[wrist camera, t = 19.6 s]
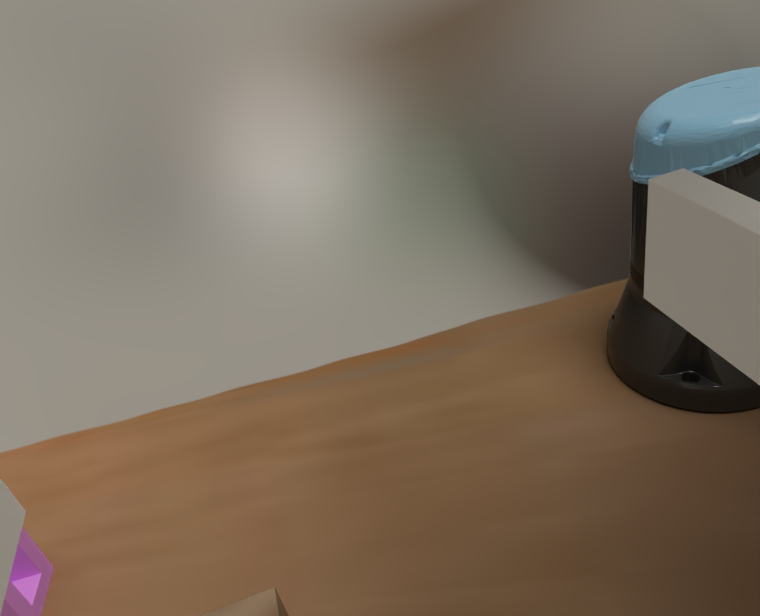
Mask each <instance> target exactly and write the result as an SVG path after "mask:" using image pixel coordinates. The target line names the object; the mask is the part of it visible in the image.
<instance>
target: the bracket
mask: <svg viewBox="0 0 760 616" xmlns="http://www.w3.org/2000/svg"><path fill="white" fill-rule="evenodd" d="M53 568H54V567H53V565H52V564H51V563H50V562H49V560H48V559H47V558H46V557H45V555H44V554H43V553H42V551H41V550H40V549H39V548H38V546H37V545H36V544H35V543H34V541H33V540H32V539H31V537H30V536H29V535H28V534H27V532H26V531H25V530H24V529H23V527H22V530H21V534H20V538H19V542H18V546H17V550H16V554H15V558H14V562H13V566H12V570H11V574H10V578H9V582H8V586H7V590H6V594H5V598H4V603H3V607H2V611H1V615H0V616H41V612H42V609H43V605H44V601H45V598H46V594H47V590H48V587H49V583H50V579H51V576H52V572H53Z"/></svg>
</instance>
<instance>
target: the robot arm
mask: <svg viewBox="0 0 760 616" xmlns="http://www.w3.org/2000/svg"><path fill="white" fill-rule="evenodd" d="M630 176H631V177H632V179H633V195H632V196H633V197H632V224H631V225H632V226H631V248H630V275H629V278H628V281H627V283H626V286H625V289H624V291H623V294H622V297H621V299H620V302H619V305H618V307H617V308H616V310H615V311H614V313H613V315H612V317H611V319H610V322H609V325H608V331H607V354H608V358H609V361H610V364H611V366H612V368H613V369H614V371H615V372H616V373H617V375H618V376H619V377H620V378H621V379H622V380H623V381H624V382H625V383H627V384H628V385H629V386H630V387H632V388H633V389H635V390H636V391H638V392H640V393H641V394H643V395H645V396H647V397H649V398H652V399H654V400H656V401H659V402H662V403H665V404H668V405H671V406H675V407H679V408H683V409H689V410H695V411H705V412H731V411H740V410H746V409H751V408H755V407H758V406H760V67H753V68H746V69H739V70H734V71H729V72H725V73H720V74H716V75H712V76H708V77H705V78H702V79H698V80H696V81H693V82H690V83H687V84H685V85H682V86H680V87H678V88H676V89H673V90H671V91H669V92H668V93H666V94H664V95H662V96H661V97H659V98H658V99H657V100H655V101H654V102H653V103H651V104H650V105H649V106H648V107H647V109H646V110H645V111H644V112H643V114H642V115H641V117H640V118H639V121H638V123H637V127H636V133H635V144H634V155H633V160H632V163H631V165H630ZM25 514H26V511H25V510H24V508H23V507H22V506H21V505H20V503H19V502H18V501H17V499H16V498H15V497H14V495H13V494H12V493H11V492H10V490H9V489H8V488H7V486H6V485H5V484H4V482H3V481H2V480H1V479H0V615H1V611H2V607H3V603H4V598H5V594H6V590H7V586H8V582H9V578H10V574H11V570H12V566H13V562H14V558H15V554H16V550H17V546H18V542H19V538H20V534H21V530H22V526H23V522H24V518H25Z"/></svg>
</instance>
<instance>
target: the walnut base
mask: <svg viewBox="0 0 760 616" xmlns="http://www.w3.org/2000/svg"><path fill="white" fill-rule="evenodd" d="M200 616H288V614H287V612H286V609H285V607H284V605H283V603H282V601H281V599H280V597H279V595H278V593H277V591H276V589H275V587H273V588H270V589H268V590H265V591H263V592H260V593H257V594H255V595H252V596H250V597H247V598H244V599H242V600H239V601H236V602H234V603H231V604H229V605H226V606H223V607H221V608H218V609H216V610H213V611H210V612H208V613H205V614H203V615H200Z"/></svg>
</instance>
